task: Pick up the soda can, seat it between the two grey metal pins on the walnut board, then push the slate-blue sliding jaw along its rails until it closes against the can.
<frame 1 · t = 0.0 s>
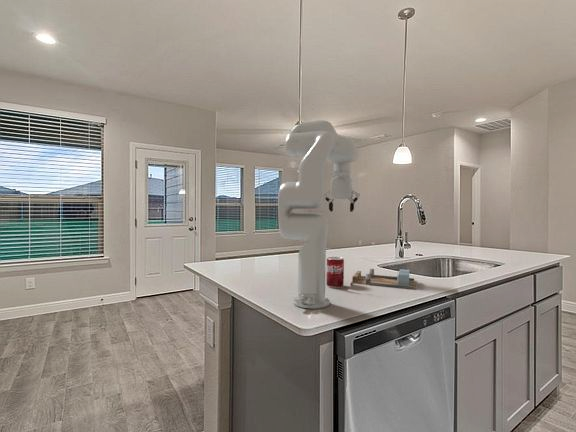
hand: (341, 211, 152), 31 cm above the worktop, fingers open, 9 cm apart
jaw: (403, 277, 134), point 4 cm above the worktop, slide at 0.0 cm
soda can: (334, 286, 134), on the worktop
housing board: (384, 284, 137), on the worktop
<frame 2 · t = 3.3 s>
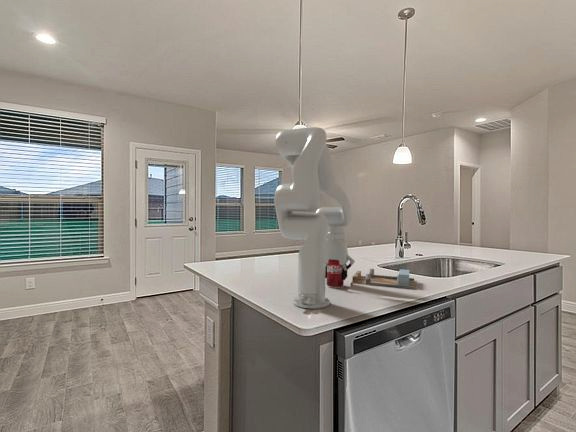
hand: (335, 278, 134), 3 cm above the worktop, fingers closed on soda can, 7 cm apart
soda can: (334, 286, 135), on the worktop, touching gripper
everything else where it was.
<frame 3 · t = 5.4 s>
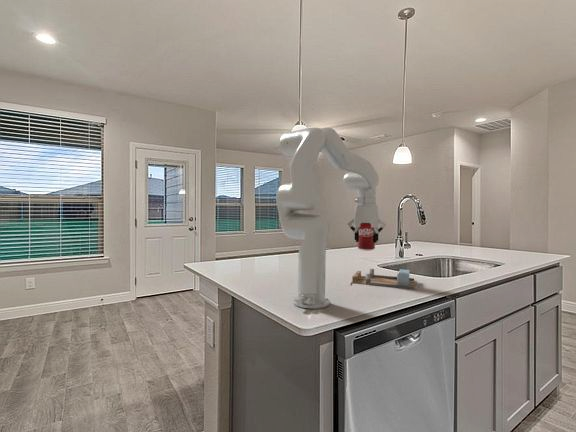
hand: (366, 241, 139), 18 cm above the worktop, fingers closed on soda can, 7 cm apart
soda can: (366, 249, 139), point 15 cm above the worktop, touching gripper
everything else where it was.
when the fingers open (6 cm above the worktop, at t = 8.0 s): soda can drops 1 cm, resting on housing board.
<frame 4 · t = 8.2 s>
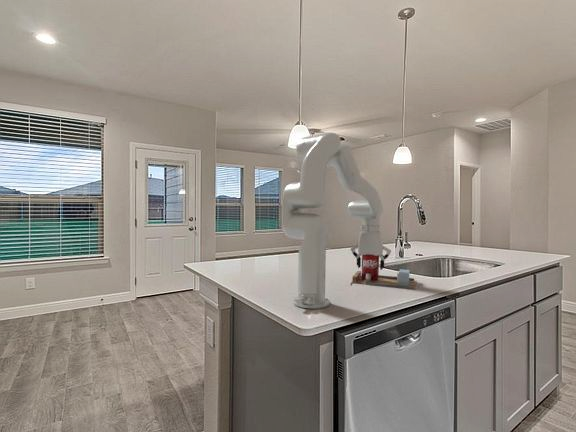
hand: (370, 268, 139), 7 cm above the worktop, fingers open, 9 cm apart
soda can: (369, 280, 140), point 1 cm above the worktop, touching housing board
everything else where it was.
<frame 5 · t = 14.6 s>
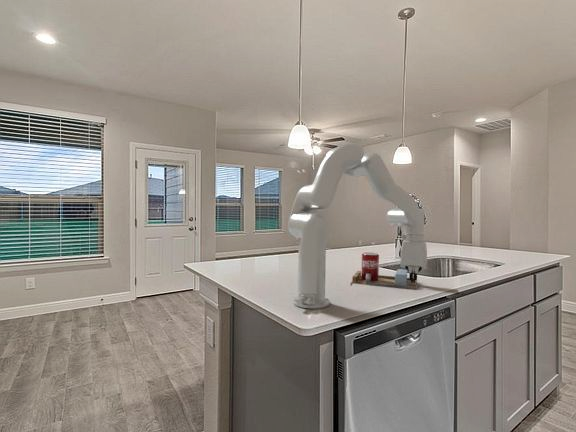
hand: (413, 281, 133), 2 cm above the worktop, fingers closed
jaw: (401, 277, 135), point 4 cm above the worktop, slide at 0.9 cm, touching gripper
everything else where it was.
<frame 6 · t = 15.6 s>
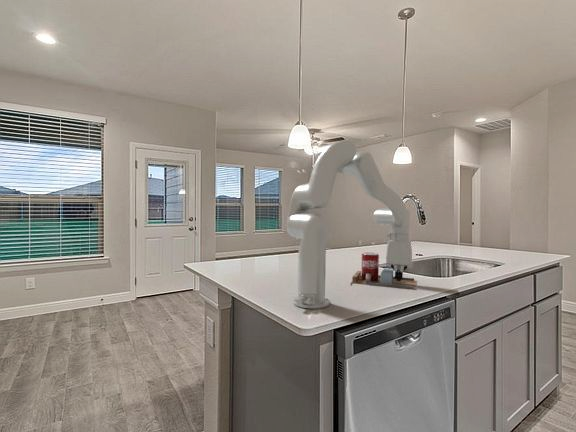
hand: (398, 280, 135), 2 cm above the worktop, fingers closed
jaw: (387, 276, 137), point 4 cm above the worktop, slide at 6.6 cm, touching gripper
everything else where it was.
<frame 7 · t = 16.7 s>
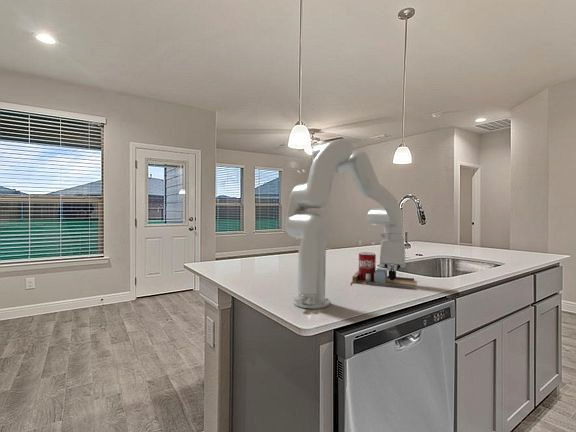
hand: (392, 279, 136), 3 cm above the worktop, fingers closed
jaw: (380, 275, 138), point 4 cm above the worktop, slide at 9.2 cm, touching gripper, soda can
soda can: (366, 280, 140), point 1 cm above the worktop, touching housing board, jaw
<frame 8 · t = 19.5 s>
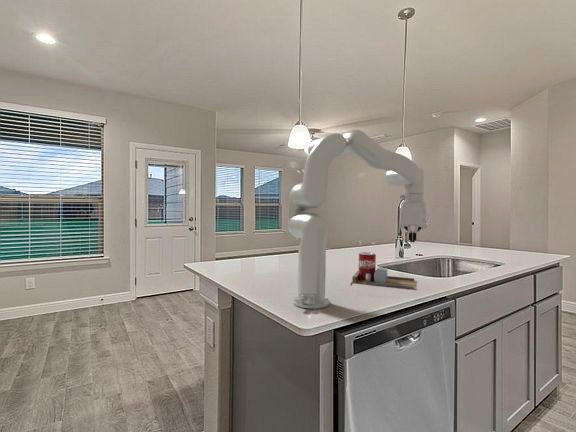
hand: (412, 242, 133), 19 cm above the worktop, fingers closed
jaw: (380, 275, 138), point 4 cm above the worktop, slide at 9.2 cm
soda can: (366, 280, 140), point 1 cm above the worktop, touching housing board
at the end: soda can inside the target area (1.4 cm from its centre), point 1.0 cm above the worktop; soda can tilted 0°; jaw slide at 9.2 cm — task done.
